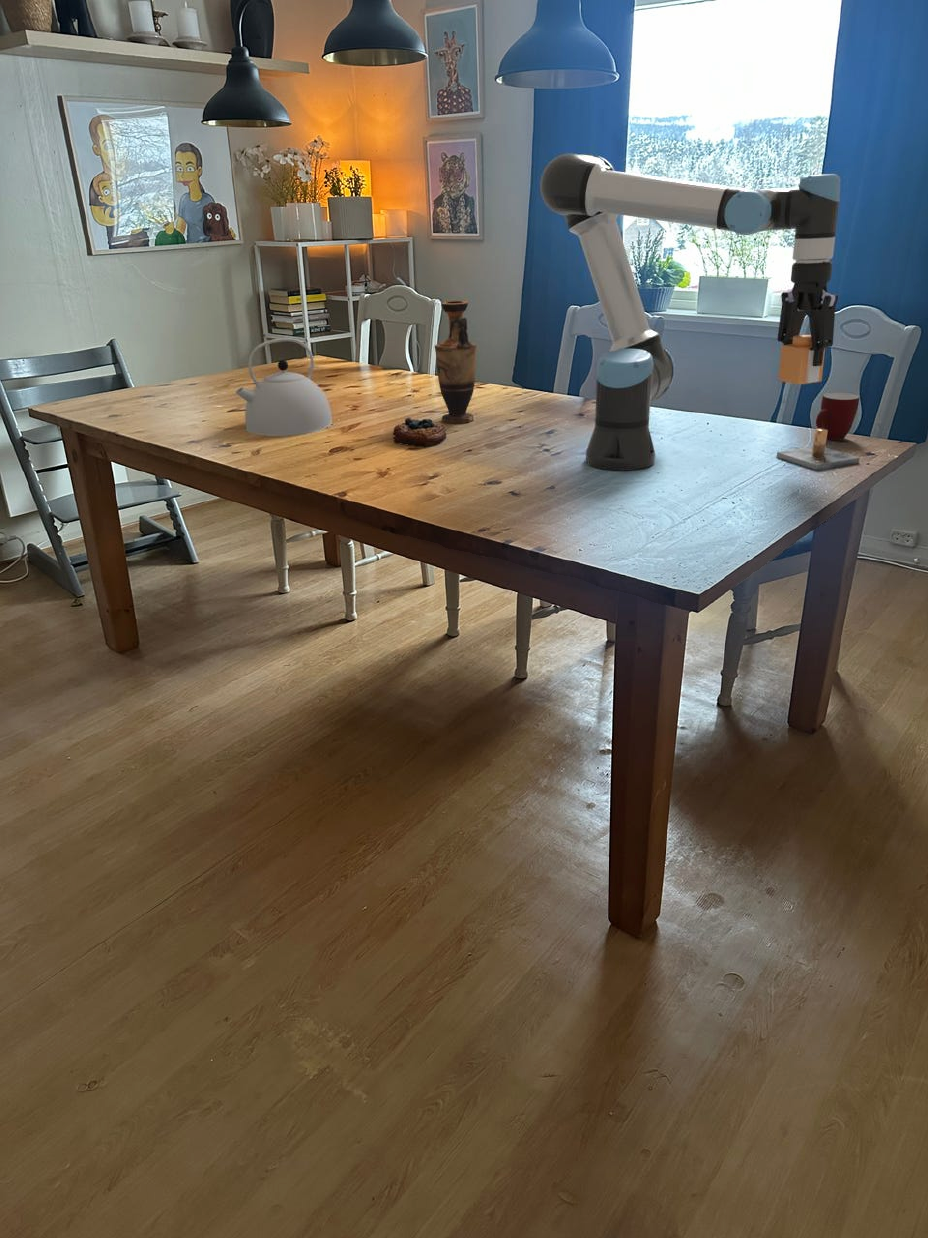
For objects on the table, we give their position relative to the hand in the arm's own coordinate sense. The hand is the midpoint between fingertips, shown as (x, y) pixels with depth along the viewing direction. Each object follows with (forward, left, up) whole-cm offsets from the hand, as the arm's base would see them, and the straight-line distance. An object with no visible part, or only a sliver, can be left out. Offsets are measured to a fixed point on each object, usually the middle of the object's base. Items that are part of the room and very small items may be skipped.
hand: (800, 379), depth 187 cm
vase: (-46, +74, -18) cm, 89 cm away
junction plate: (+7, -1, -18) cm, 19 cm away
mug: (+23, +11, -18) cm, 31 cm away
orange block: (0, 0, 0) cm, 0 cm away
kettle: (-89, +91, -18) cm, 128 cm away
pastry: (-63, +59, -18) cm, 88 cm away
